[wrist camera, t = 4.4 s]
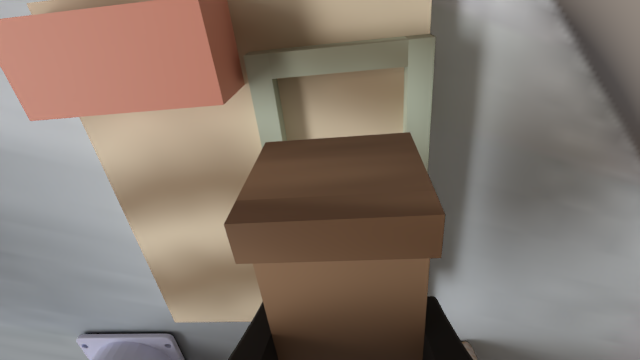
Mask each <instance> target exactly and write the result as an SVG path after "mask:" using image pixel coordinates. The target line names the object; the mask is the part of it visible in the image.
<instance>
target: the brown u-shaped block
mask: <svg viewBox="0 0 640 360" xmlns="http://www.w3.org/2000/svg"><path fill="white" fill-rule="evenodd" d="M444 223H445V213H444V211H443V208H442V206H441V203H440V201H439V199H438V196H437V194H436V192H435V189H434V187H433V185H432V182H431V180H430V178H429V175H428V173H427V171H426V168H425V166H424V164H423V161H422V159H421V157H420V154H419V152H418V150H417V147H416V145H415V143H414V140H413V138H412V136H411V133H410V132H405V133H391V134H377V135H362V136H348V137H334V138H319V139H305V140H291V141H276V142H265V144H264V146H263V148H262V150H261V152H260V154H259V156H258V158H257V160H256V162H255V164H254V166H253V168H252V170H251V172H250V174H249V176H248V178H247V180H246V182H245V184H244V186H243V187H242V189H241V191H240V193H239V195H238V197H237V199H236V201H235V203H234V205H233V207H232V209H231V211H230V213H229V215H228V217H227V219H226V221H225V223H224V227H225V230H226V234H227V237H228V240H229V243H230V247H231V250H232V253H233V257H234V260H235V263H236V264H253V267H254V270H255V274H256V278H257V282H258V285H259V289H260V293H261V297H262V300H263V304H264V308H265V312H266V315H267V319H268V323H269V326H270V330H271V334H272V338H273V341H274V345H275V349H276V353H277V356H278V360H423V346H424V333H425V319H426V305H427V292H428V278H429V265H430V258H441V255H442V244H443V234H444Z"/></svg>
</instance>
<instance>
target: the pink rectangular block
mask: <svg viewBox="0 0 640 360" xmlns="http://www.w3.org/2000/svg"><path fill="white" fill-rule="evenodd" d="M0 66H1V68H2V70H3V72H4V74H5V75H6V77H7V79H8V81H9V83H10V85H11V86H12V88H13V90H14V92H15V94H16V96H17V98H18V99H19V101H20V103H21V105H22V107H23V109H24V110H25V112H26V114H27V116H28V118H29V120H30V121H36V120H48V119H60V118H72V117H84V116H96V115H108V114H120V113H132V112H144V111H156V110H168V109H180V108H192V107H204V106H216V105H224V104H225V103H226V102H227V101H228V100H229V99H230V98H231V97H232V96H233V95H234V94H236V93H237V92H238V91H239V90H240V89H241V88H242V87H243V86H244V85H245V83H244V78H243V74H242V69H241V64H240V59H239V54H238V50H237V45H236V40H235V35H234V31H233V26H232V21H231V16H230V11H229V7H228V2H227V0H153V1H145V2H136V3H128V4H120V5H112V6H103V7H95V8H87V9H79V10H70V11H62V12H54V13H46V14H37V15H29V16H21V17H13V18H4V19H0Z"/></svg>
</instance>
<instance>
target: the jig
mask: <svg viewBox="0 0 640 360" xmlns="http://www.w3.org/2000/svg"><path fill="white" fill-rule="evenodd" d="M145 1H153V0H50V1H42V2H34V3H27V5H28V8H29V10H30V12H31V14H32V15H37V14H46V13H54V12H62V11H70V10H79V9H87V8H95V7H103V6H112V5H120V4H128V3H136V2H145ZM227 2H228V7H229V11H230V16H231V21H232V26H233V31H234V35H235V40H236V45H237V50H238V54H239V59H240V64H241V69H242V74H243V78H244V83H245V85H244V86H243V87H242V88H241V89H240V90H239V91H238V92H237V93H236V94H234V95H233V96H232V97H231V98H230V99H229V100H228V101H227V102H226V103H225V104H224V105H216V106H204V107H192V108H180V109H168V110H156V111H144V112H132V113H120V114H108V115H96V116H84V117H80V119H81V121H82V124H83V126H84V128H85V130H86V132H87V134H88V136H89V139H90V141H91V143H92V145H93V147H94V149H95V152H96V154H97V156H98V158H99V160H100V162H101V164H102V167H103V169H104V171H105V173H106V175H107V177H108V179H109V182H110V184H111V186H112V188H113V190H114V192H115V194H116V197H117V199H118V201H119V203H120V205H121V207H122V210H123V212H124V214H125V216H126V218H127V220H128V222H129V225H130V227H131V229H132V231H133V233H134V235H135V237H136V240H137V242H138V244H139V246H140V248H141V250H142V252H143V255H144V257H145V259H146V261H147V263H148V265H149V267H150V270H151V272H152V274H153V276H154V278H155V280H156V283H157V285H158V287H159V289H160V291H161V293H162V295H163V298H164V300H165V302H166V304H167V306H168V308H169V310H170V313H171V315H172V317H173V319H174V321H175V322H252V320H253V318H254V316H255V314H256V313H257V311H258V309H259V307H260V305H261V303H262V302H263V300H262V297H261V293H260V289H259V285H258V282H257V278H256V274H255V270H254V267H253V264H236V263H235V260H234V257H233V253H232V250H231V247H230V243H229V240H228V237H227V234H226V230H225V227H224V223H225V221H226V219H227V217H228V215H229V213H230V211H231V209H232V207H233V205H234V203H235V201H236V199H237V197H238V195H239V193H240V191H241V189H242V187H243V186H244V184H245V182H246V180H247V178H248V176H249V174H250V172H251V170H252V168H253V166H254V164H255V162H256V160H257V158H258V156H259V154H260V152H261V150H262V148H263V146H264V144H265V142H276V141H291V140H305V139H319V138H334V137H348V136H362V135H377V134H391V133H405V132H410V133H411V136H412V138H413V140H414V143H415V145H416V147H417V150H418V152H419V154H420V157H421V159H422V161H423V164H424V166H425V168H426V171H427V173H428V160H429V143H430V125H431V108H432V91H433V74H434V57H435V39H436V37H435V36H433V35H432V34H430V24H431V5H432V0H227Z"/></svg>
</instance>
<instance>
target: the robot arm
mask: <svg viewBox="0 0 640 360" xmlns="http://www.w3.org/2000/svg"><path fill="white" fill-rule="evenodd" d="M76 341H77V343H78V344H79V346H80V347H81V349H82V350H83V352H84V353H85V354H86V356H87V357H88V359H89V360H185V359H184V357H183V355H182V353H181V351H180V349H179V347H178V345H177V343H176V341H175V339H174V337H173V336H172V335H170V334H81V335H79V336H78V338H77V339H76ZM228 360H278V356H277V353H276V349H275V345H274V341H273V338H272V334H271V330H270V326H269V323H268V319H267V315H266V312H265V308H264V304H263V302H262V303H261V305H260V307H259V309H258V311H257V313H256V314H255V316H254V318H253V320H252V322H251V323H250V325H249V327H248V328H247V330H246V332H245V334H244V335H243V337H242V339H241V340H240V342H239V343H238V345H237V346H236V348H235V350H234V351H233V353H232V354H231V356H230V357H229V359H228ZM423 360H473V359H472V357H471V356H470V354H469V353H468V351H467V350H466V348H465V347H464V345H463V344H462V342H461V340H460V339H459V337H458V336H457V334H456V332H455V331H454V329H453V327H452V326H451V324H450V322H449V321H448V319H447V317H446V315H445V314H444V312H443V310H442V308H441V306H440V304H439V302H438V300H437V299H436V298H435V297H434V296H430V297H427V305H426V319H425V333H424V346H423Z"/></svg>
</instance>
